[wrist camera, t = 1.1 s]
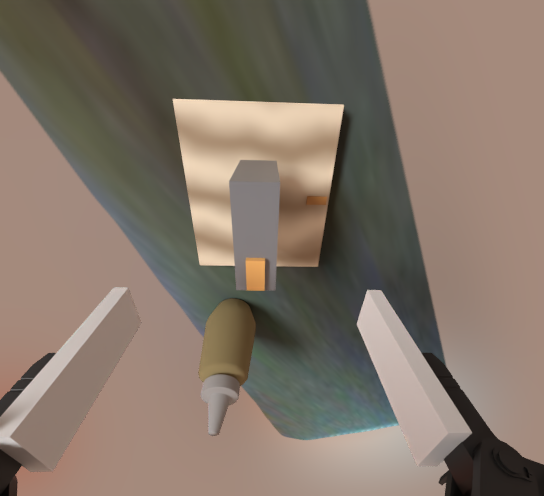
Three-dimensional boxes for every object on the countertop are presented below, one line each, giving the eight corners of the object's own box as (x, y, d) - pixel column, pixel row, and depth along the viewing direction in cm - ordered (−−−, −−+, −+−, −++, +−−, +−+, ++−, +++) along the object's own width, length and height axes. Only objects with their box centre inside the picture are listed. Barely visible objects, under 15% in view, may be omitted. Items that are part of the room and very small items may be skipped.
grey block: (240, 159, 23) (227, 183, 16) (276, 160, 23) (280, 184, 16) (243, 245, 28) (235, 293, 21) (273, 246, 28) (275, 294, 21)
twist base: (179, 99, 24) (162, 97, 20) (338, 105, 25) (351, 104, 21) (203, 257, 35) (195, 276, 31) (315, 259, 35) (321, 277, 31)
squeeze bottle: (251, 328, 43) (242, 450, 28) (208, 321, 42) (173, 445, 26) (261, 297, 39) (258, 420, 24) (214, 288, 38) (177, 411, 22)
